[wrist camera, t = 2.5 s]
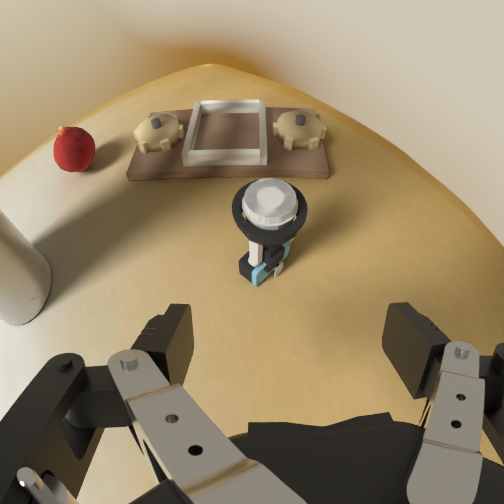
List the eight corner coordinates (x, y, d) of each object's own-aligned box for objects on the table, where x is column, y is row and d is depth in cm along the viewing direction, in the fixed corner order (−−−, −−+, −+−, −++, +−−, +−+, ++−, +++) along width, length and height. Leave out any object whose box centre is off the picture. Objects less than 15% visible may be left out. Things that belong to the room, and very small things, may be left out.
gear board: (126, 181, 36) (116, 156, 32) (150, 119, 42) (144, 97, 38) (330, 178, 35) (336, 152, 32) (315, 116, 42) (319, 92, 38)
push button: (272, 224, 32) (277, 151, 23) (313, 254, 30) (334, 185, 21) (226, 267, 30) (214, 199, 21) (268, 302, 28) (275, 244, 19)
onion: (92, 149, 39) (73, 107, 32) (109, 164, 37) (89, 118, 30) (61, 173, 37) (37, 132, 30) (75, 191, 35) (50, 147, 28)
